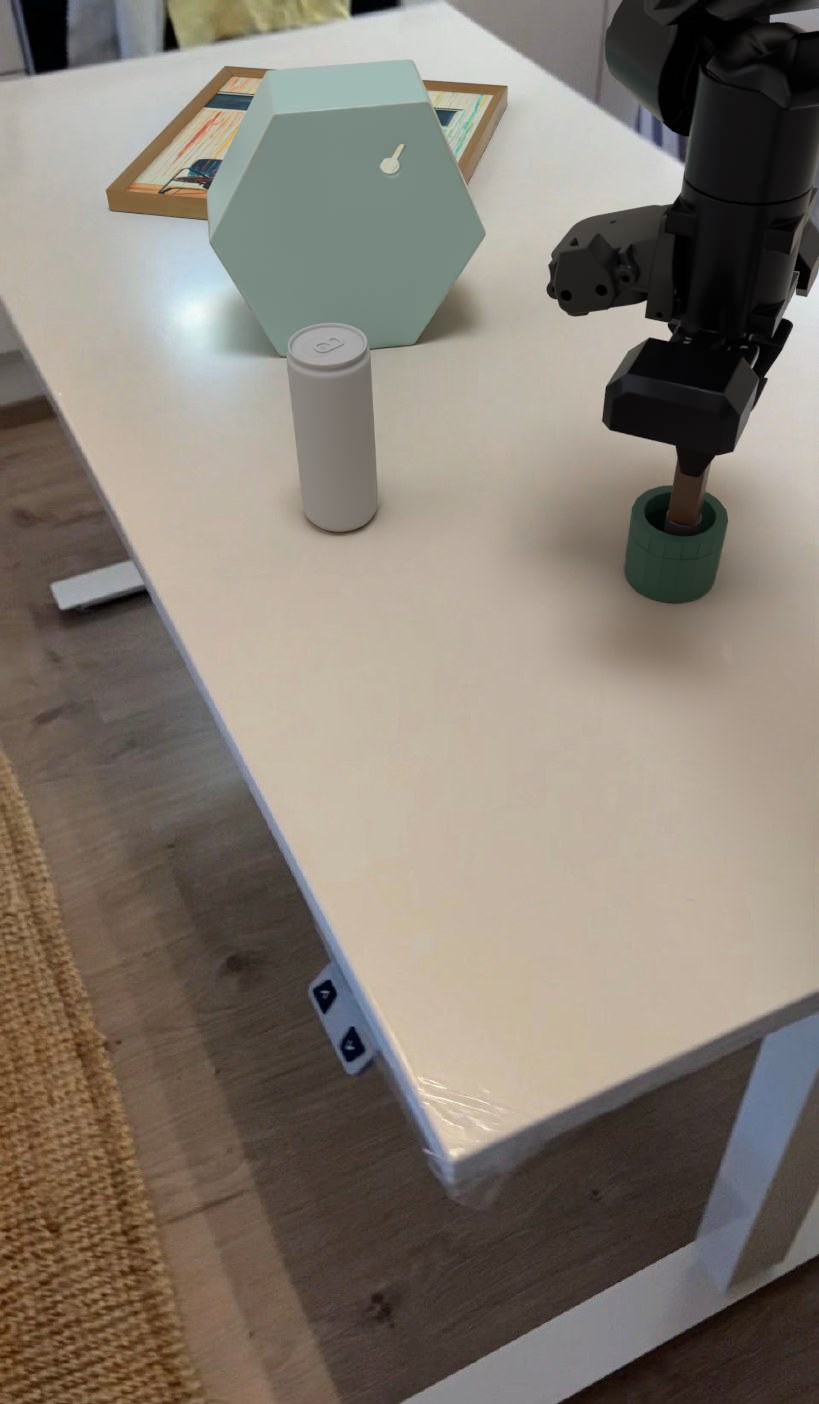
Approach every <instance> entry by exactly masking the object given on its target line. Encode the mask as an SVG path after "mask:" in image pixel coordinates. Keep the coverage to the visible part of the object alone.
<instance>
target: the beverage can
mask: <svg viewBox="0 0 819 1404" xmlns="http://www.w3.org/2000/svg"><path fill="white" fill-rule="evenodd" d="M371 355H372V354H371V349H369V347H368V344H367V338H366V336H365V334H364V333H363V332H361V331H360V330H359V329H357V328H355V327H353V326H350V325H346V324H341V323H321V324H316V325H311V326H308V327H305V328H303V329H301V330H299V331H298V332H296V333H295V334H294V335H293V336H292V337H291V338H290V340H289V342H288V352H287V357H286V367H287V377H288V385H289V387H288V388H289V393H290V405H291V411H292V412H291V413H292V421H293V430H294V431H293V432H294V440H295V449H296V457H297V466H298V473H299V474H298V476H299V483H300V494H301V502H302V509H303V512H304V515H305V517H306V518H307V519H308V520H309V521H310V522H311V523H312V524H314V525H315V526H317V527H318V528H320V529H322V530H326V531H327V532H328V531H329V532H337V533H340V532H341V533H343V532H345V533H346V532H350V531H354V530H357V529H359V528H362V527H363V526H364V525H367V524H368V523H369V521H370V520H371V519H372V518H373V517H374V514H375V513H376V511H377V509H378V507H379V491H378V489H379V487H378V475H377V474H378V473H377V453H376V450H377V449H376V434H375V433H376V432H375V415H374V394H373V393H374V392H373V375H372V357H371Z"/></svg>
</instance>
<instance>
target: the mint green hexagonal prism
mask: <svg viewBox="0 0 819 1404" xmlns="http://www.w3.org/2000/svg"><path fill="white" fill-rule="evenodd" d="M422 80H423V79H422V76H421V75H420V72H419V70H418V66H417V65H416V62H415V61H414V60H412V59H396V60H394V59H393V60H382V61H371V62H358V63H346V64H345V63H343V64H333V65H332V64H331V65H319V66H318V65H317V66H307V67H293V68H281V69H276V70H269V71H267V72H266V73H265V75H264V77H263V79H262V81H261V83H260V85H259V87H258V89H257V91H256V93H255V95H254V97H253V99H252V101H251V103H250V105H249V107H248V109H247V111H246V113H245V116H244V118H243V120H242V122H241V124H240V126H239V128H238V130H237V132H236V134H235V136H234V138H233V140H232V142H231V144H230V146H229V148H228V150H227V152H226V154H225V157H224V159H223V161H222V163H221V165H220V167H219V169H218V171H217V173H216V175H215V177H214V179H213V181H212V183H211V185H210V187H209V189H208V192H207V195H206V196H207V214H208V220H207V227H208V229H207V231H208V232H207V233H208V243H209V245H210V247H211V249H212V250H213V252H214V254H215V255H216V257H217V258H218V260H219V261H220V264H221V265H222V267H223V268H224V269H225V271H226V273H227V274H228V276H229V277H230V279H231V281H232V282H233V284H234V286H235V287H236V289H237V290H238V292H239V293H240V295H241V297H242V298H243V300H244V302H245V303H246V305H247V307H248V308H249V309H250V311H251V313H252V314H253V316H254V317H255V319H256V321H257V322H258V324H259V325H260V327H261V329H262V330H263V332H264V334H265V336H267V338H268V340H269V341H270V343H271V345H272V346H273V347H274V349H275V351H276V353H277V354H278V355H279V356H280V357H284V358H285V357H286V358H287V352H288V342H289V340H290V338H291V337H292V336H293V335H294V334H295V333H296V332H298V331H299V330H301V329H303V328H305V327H308V326H311V325H316V324H321V323H341V324H346V325H350V326H353V327H355V328H357V329H359V330H360V331H361V332H363V333H364V334H365V336H366V338H367V344H368V347H369V349H370V350H371V349H383V348H393V347H401V346H411V345H414V344H416V343H417V341H418V340H419V338H420V337H421V335H422V334H423V332H424V331H425V329H426V327H427V326H428V325H429V323H430V321H432V318H434V316H435V314H436V312H437V311H438V309H439V308H440V307H441V305H442V304H443V302H444V300H445V299H446V297H447V295H448V294H449V293H450V291H451V290H452V289H453V287H454V285H455V283H456V282H457V280H458V279H459V277H460V275H461V274H462V272H463V271H464V270H465V268H466V267H467V265H468V263H469V262H470V261H471V259H472V257H473V256H474V254H475V253H476V251H477V250H478V248H479V247H480V245H481V244H482V242H483V240H484V239H485V237H486V235H487V231H486V229H485V226H484V224H483V222H482V219H481V216H480V214H479V212H478V208H477V206H476V204H475V201H474V199H473V196H472V194H471V191H470V189H469V186H468V184H466V182H465V179H464V177H463V175H462V172H461V170H460V168H459V165H458V163H457V160H456V158H455V156H454V153H453V151H452V149H451V146H450V144H449V142H448V139H447V137H446V135H445V132H444V130H443V128H442V125H441V123H440V121H439V118H438V116H437V114H436V111H435V109H434V107H433V104H432V102H431V100H430V97H429V95H428V93H427V90H426V88H425V86H424V83H423V81H422ZM401 144H404V147H403V149H402V150H401V152H400V154H399V156H398V158H397V160H398V162H399V169H398V170H397V171H396V172H395V173H392V174H388V173H385V172H383V171H382V169H381V168H380V164H381V162H382V161H383V160H384V159H386V158H392V156H393V154H394V153H395V151H396V150H397V148H398V146H399V145H401Z"/></svg>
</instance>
